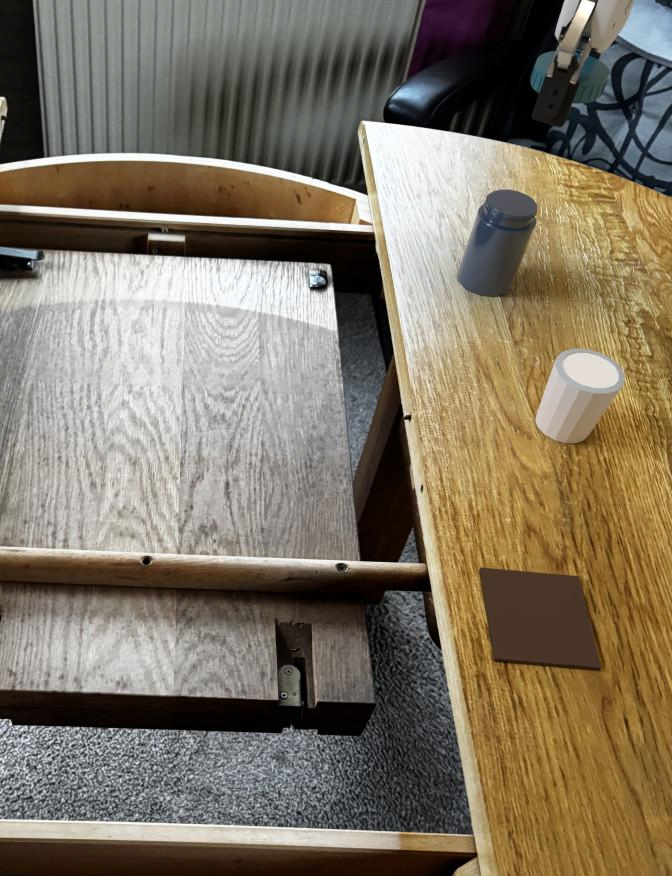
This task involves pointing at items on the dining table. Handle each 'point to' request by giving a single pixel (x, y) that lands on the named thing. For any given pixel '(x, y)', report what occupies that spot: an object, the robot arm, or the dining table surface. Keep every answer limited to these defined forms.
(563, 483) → the dining table surface
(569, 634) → the coaster
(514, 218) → the jar
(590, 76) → the lid
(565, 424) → the white short cylinder
